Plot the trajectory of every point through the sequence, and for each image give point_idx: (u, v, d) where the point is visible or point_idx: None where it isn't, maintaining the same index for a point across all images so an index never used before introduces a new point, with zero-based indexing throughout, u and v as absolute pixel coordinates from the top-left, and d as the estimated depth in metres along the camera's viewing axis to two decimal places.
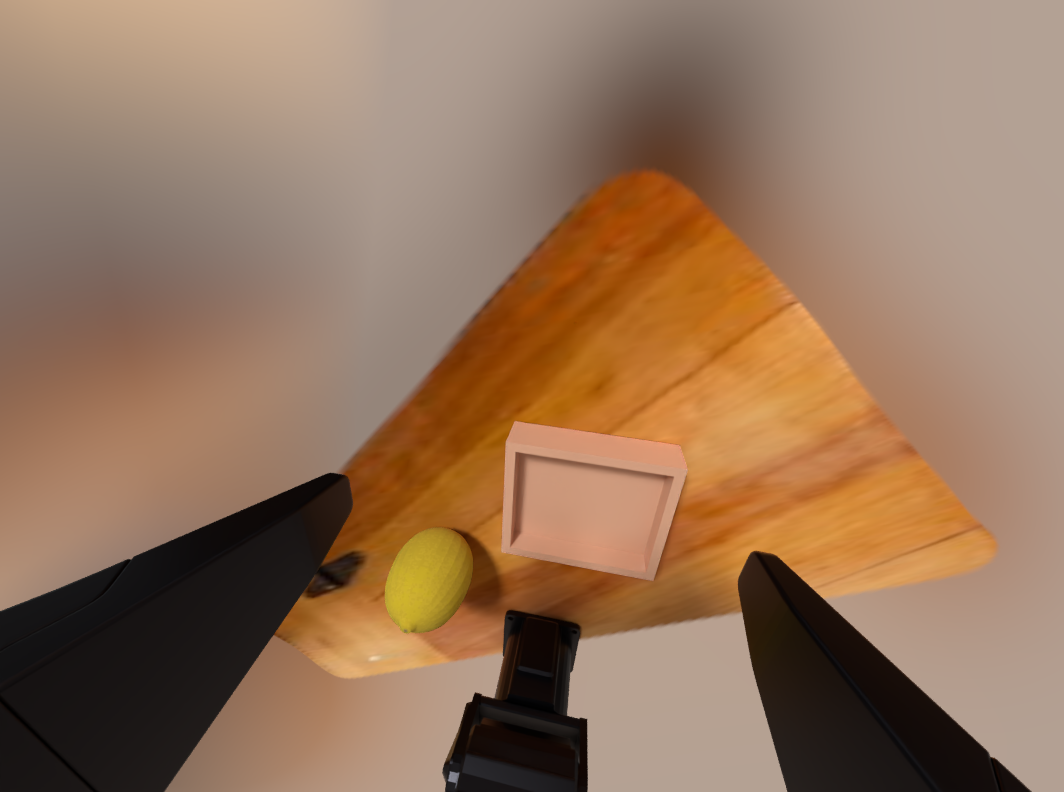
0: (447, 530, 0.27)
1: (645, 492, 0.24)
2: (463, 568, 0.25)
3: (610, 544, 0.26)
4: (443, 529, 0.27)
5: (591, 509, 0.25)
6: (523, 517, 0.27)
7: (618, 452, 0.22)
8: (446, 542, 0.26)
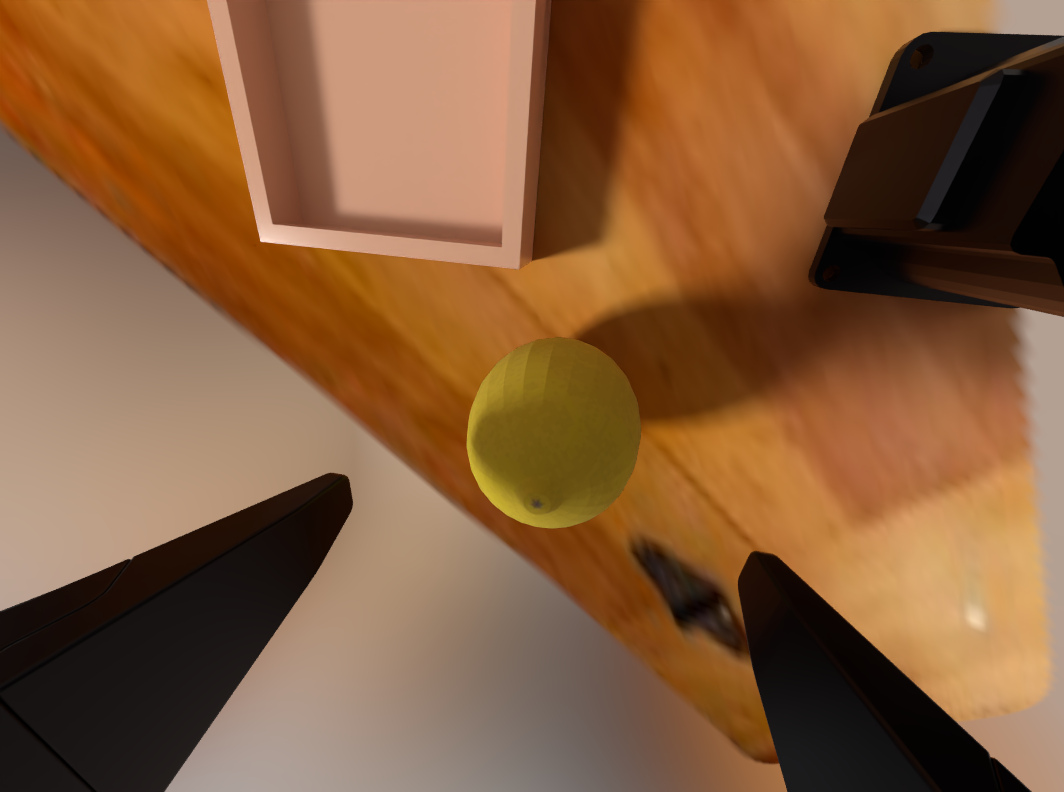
0: None
1: None
2: (518, 352, 0.12)
3: None
4: None
5: (415, 51, 0.11)
6: (471, 222, 0.13)
7: None
8: None
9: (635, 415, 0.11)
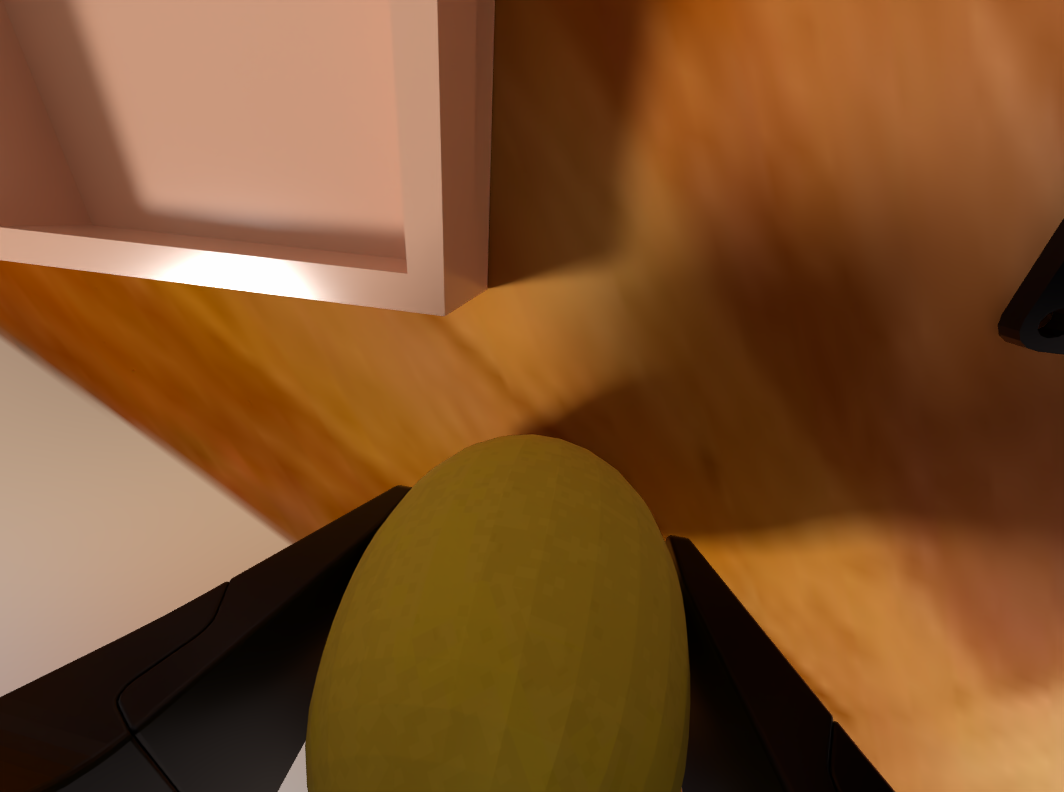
0: None
1: None
2: (436, 490, 0.06)
3: None
4: None
5: None
6: (368, 223, 0.07)
7: None
8: None
9: (683, 652, 0.05)
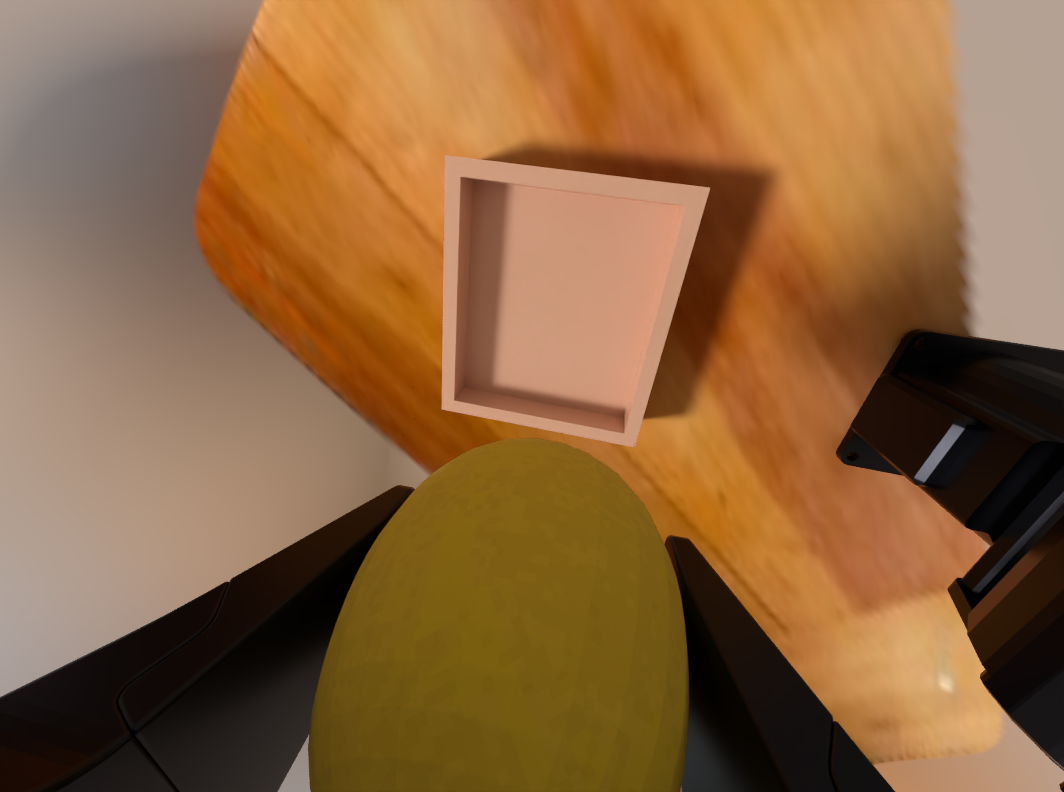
0: None
1: (535, 214, 0.15)
2: (437, 494, 0.06)
3: (651, 270, 0.15)
4: None
5: (574, 301, 0.16)
6: (594, 401, 0.18)
7: None
8: None
9: (681, 656, 0.05)
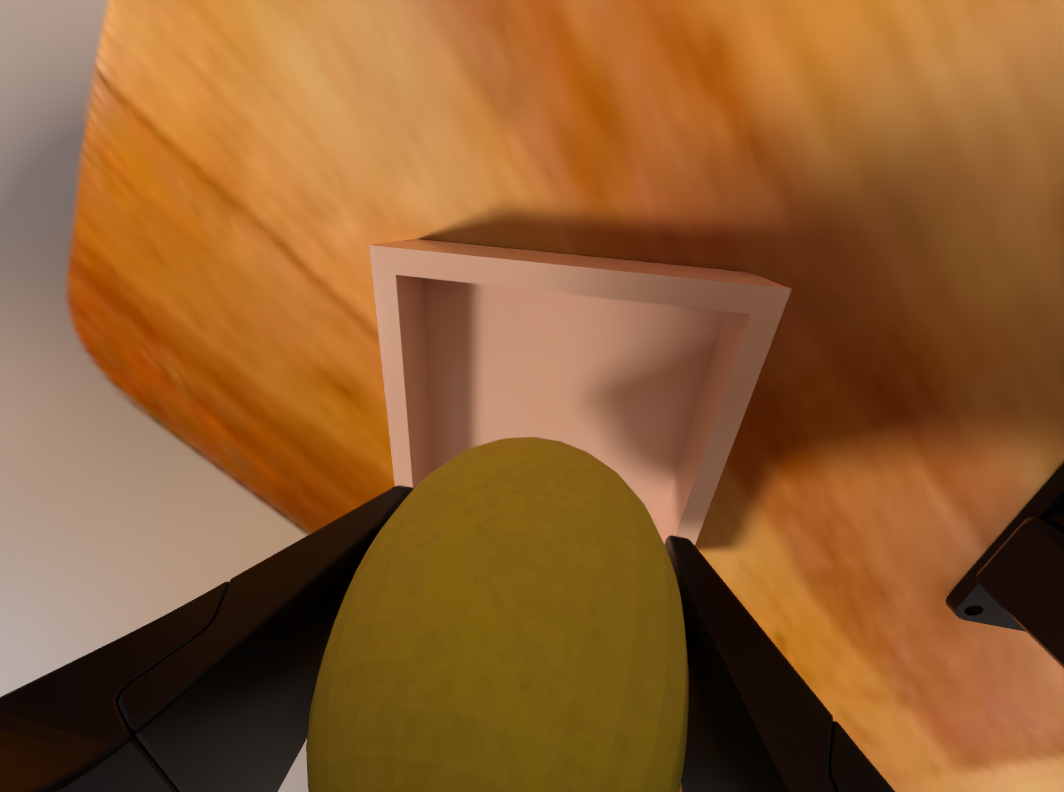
0: None
1: (514, 312, 0.10)
2: (435, 493, 0.06)
3: (687, 384, 0.10)
4: None
5: (577, 422, 0.11)
6: None
7: None
8: None
9: (681, 655, 0.05)
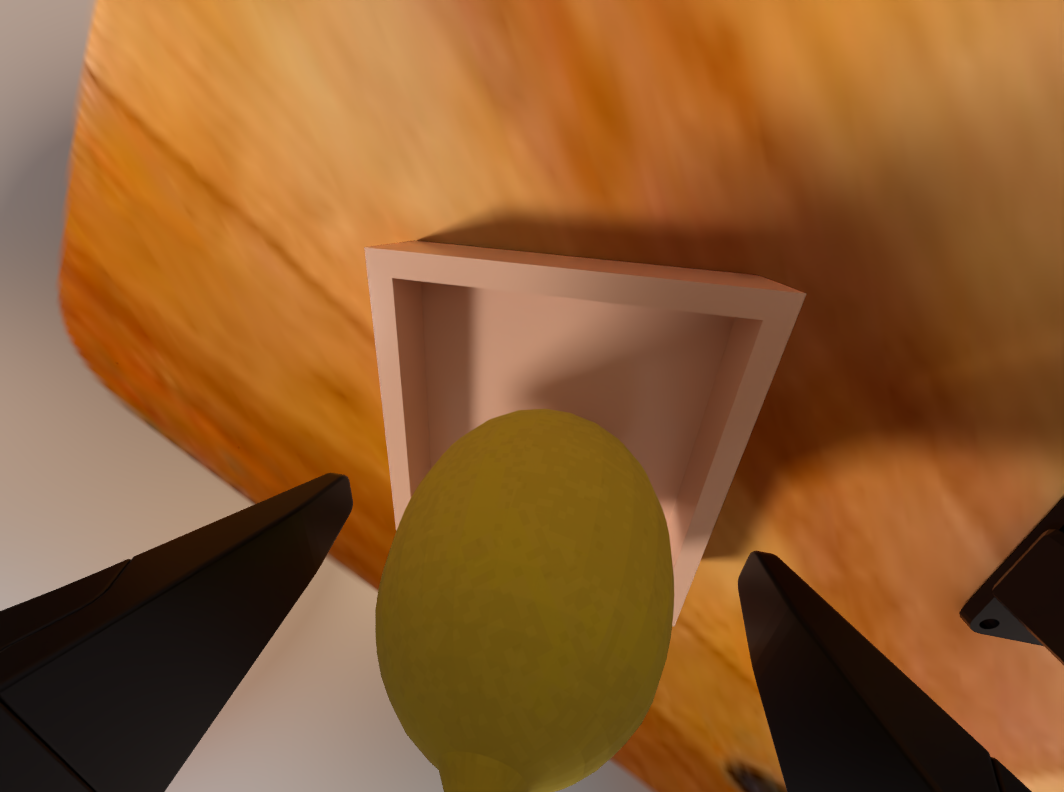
0: None
1: (515, 316, 0.10)
2: (470, 448, 0.07)
3: (694, 391, 0.10)
4: None
5: None
6: None
7: None
8: None
9: (667, 573, 0.06)
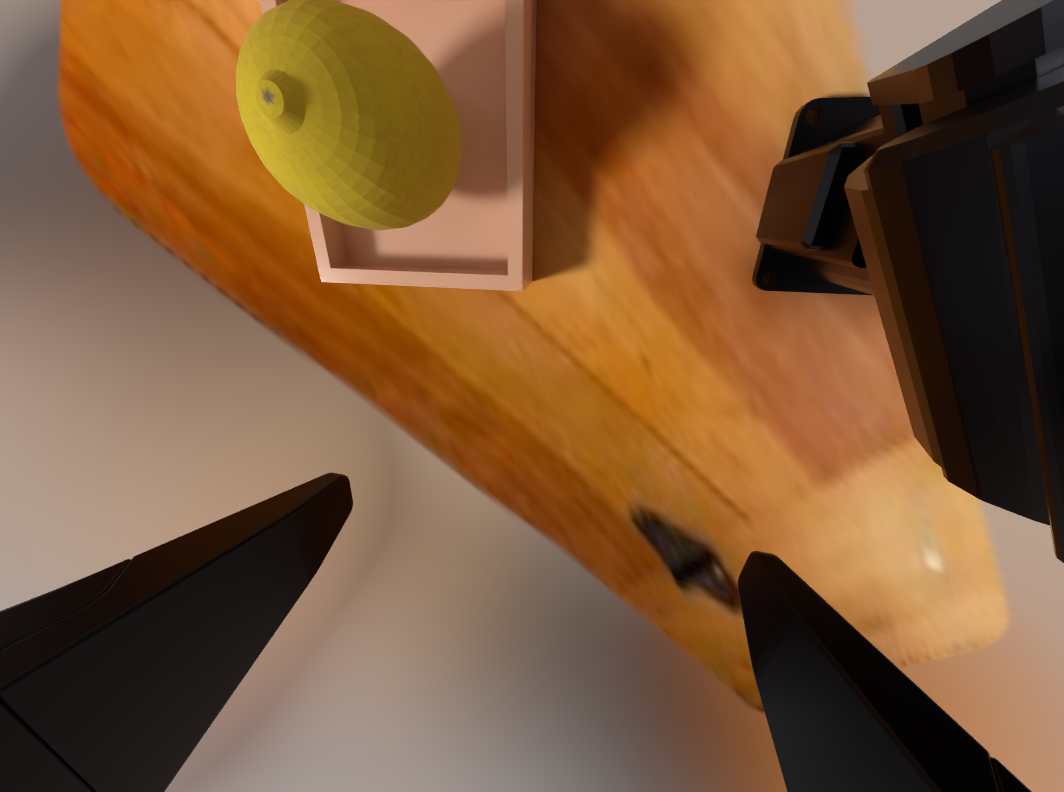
0: None
1: None
2: None
3: (503, 76, 0.14)
4: None
5: None
6: (482, 256, 0.17)
7: None
8: None
9: (420, 69, 0.10)
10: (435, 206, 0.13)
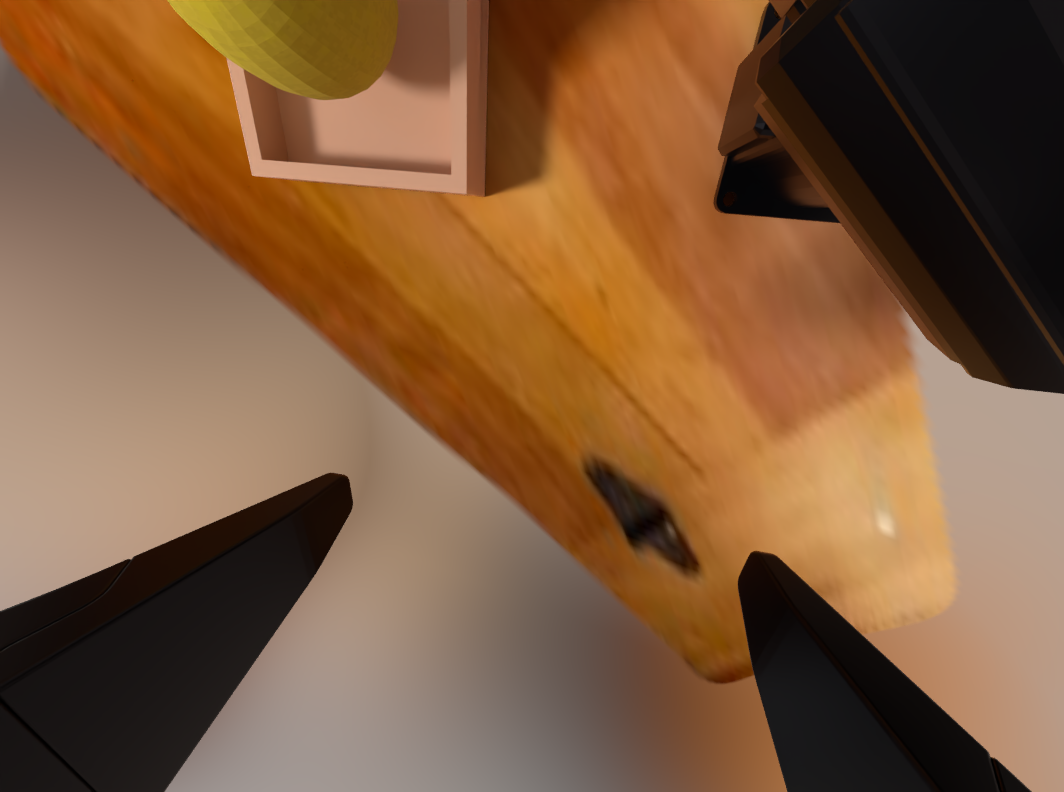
0: None
1: None
2: None
3: None
4: None
5: None
6: (429, 159, 0.15)
7: None
8: None
9: None
10: (363, 70, 0.11)
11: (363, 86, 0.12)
